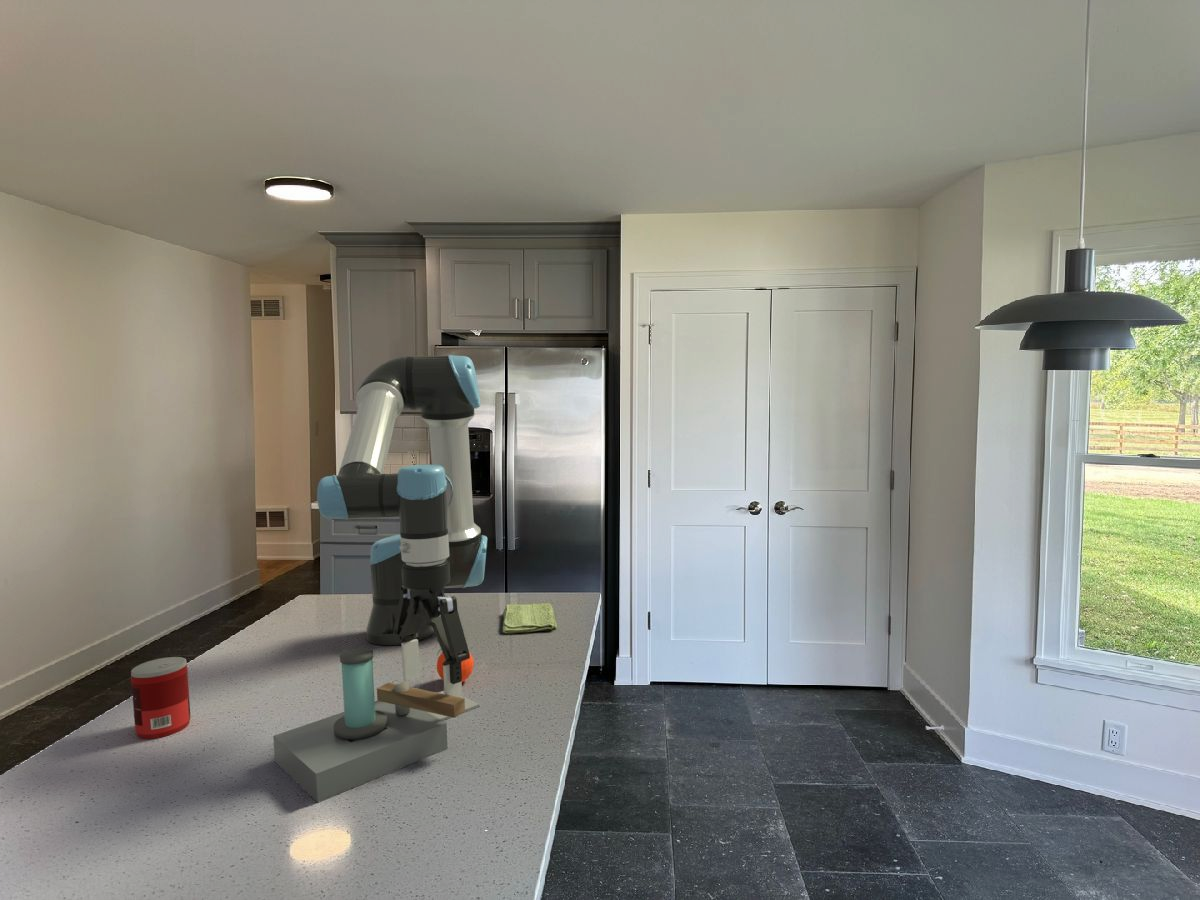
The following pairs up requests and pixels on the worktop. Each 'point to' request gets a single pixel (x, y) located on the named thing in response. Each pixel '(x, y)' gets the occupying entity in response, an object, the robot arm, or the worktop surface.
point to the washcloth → (528, 618)
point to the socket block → (356, 751)
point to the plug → (358, 697)
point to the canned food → (160, 697)
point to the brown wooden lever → (420, 700)
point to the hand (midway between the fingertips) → (431, 689)
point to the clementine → (465, 666)
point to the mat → (468, 706)
